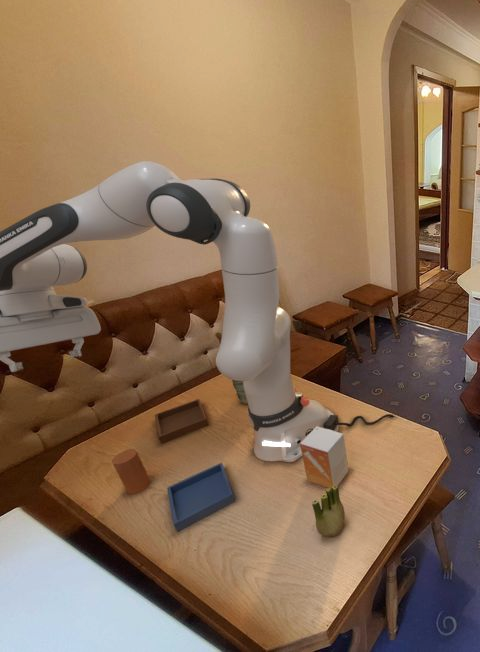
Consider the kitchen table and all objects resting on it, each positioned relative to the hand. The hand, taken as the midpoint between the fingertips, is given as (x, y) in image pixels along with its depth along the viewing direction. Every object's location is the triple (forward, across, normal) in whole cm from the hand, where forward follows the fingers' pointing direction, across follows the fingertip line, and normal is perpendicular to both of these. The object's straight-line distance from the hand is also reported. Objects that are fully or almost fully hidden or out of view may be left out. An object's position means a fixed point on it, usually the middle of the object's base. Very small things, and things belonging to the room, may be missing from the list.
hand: (48, 363), depth 83 cm
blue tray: (+38, +10, -26) cm, 47 cm away
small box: (+42, +27, -49) cm, 70 cm away
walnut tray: (+27, +23, +2) cm, 35 cm away
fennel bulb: (+47, +17, -59) cm, 77 cm away
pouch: (+26, +41, -6) cm, 49 cm away
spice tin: (+34, +6, -10) cm, 36 cm away
